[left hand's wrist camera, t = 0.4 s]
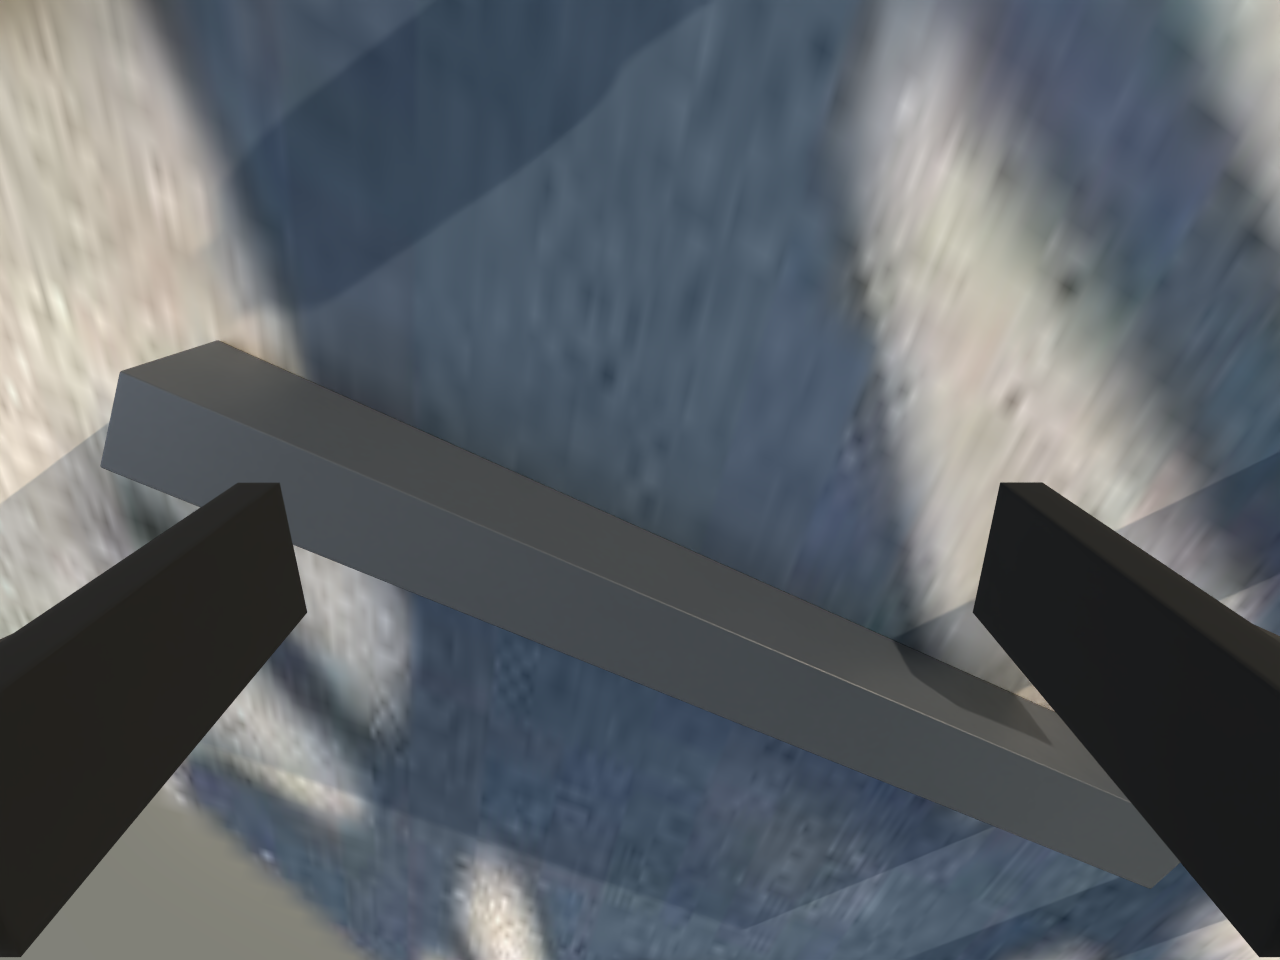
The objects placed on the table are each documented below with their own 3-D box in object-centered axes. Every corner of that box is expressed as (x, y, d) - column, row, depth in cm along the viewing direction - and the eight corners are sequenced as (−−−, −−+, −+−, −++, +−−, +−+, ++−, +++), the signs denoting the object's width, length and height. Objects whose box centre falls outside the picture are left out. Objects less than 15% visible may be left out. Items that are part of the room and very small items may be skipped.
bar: (197, 420, 39) (99, 467, 32) (217, 339, 38) (118, 370, 30) (1078, 792, 50) (1150, 889, 43) (1126, 743, 48) (1210, 836, 41)
